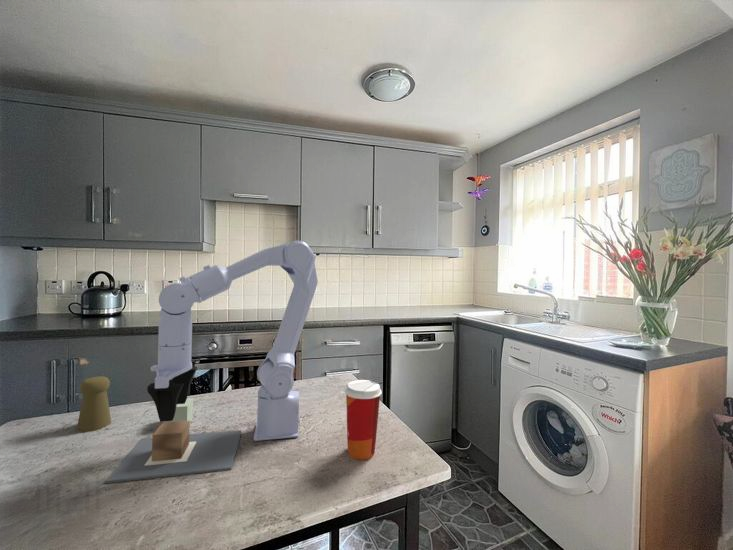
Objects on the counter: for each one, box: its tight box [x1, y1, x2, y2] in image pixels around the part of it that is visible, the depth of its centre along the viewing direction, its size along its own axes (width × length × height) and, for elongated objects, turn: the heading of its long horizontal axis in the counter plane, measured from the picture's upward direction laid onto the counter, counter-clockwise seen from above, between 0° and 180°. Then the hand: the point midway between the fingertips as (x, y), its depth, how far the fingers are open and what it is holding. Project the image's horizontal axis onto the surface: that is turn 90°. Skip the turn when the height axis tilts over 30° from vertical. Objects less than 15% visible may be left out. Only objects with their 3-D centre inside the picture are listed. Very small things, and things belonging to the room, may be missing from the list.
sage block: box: [162, 397, 195, 423], centre depth 76 cm, size 5×5×5 cm
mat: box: [104, 429, 243, 484], centre depth 63 cm, size 20×14×1 cm
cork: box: [76, 375, 112, 433], centre depth 73 cm, size 6×6×11 cm
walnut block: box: [151, 421, 191, 461], centre depth 63 cm, size 5×5×5 cm
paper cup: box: [344, 379, 383, 461], centre depth 66 cm, size 8×8×14 cm
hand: (173, 411), depth 63 cm, fingers open, 7 cm apart
